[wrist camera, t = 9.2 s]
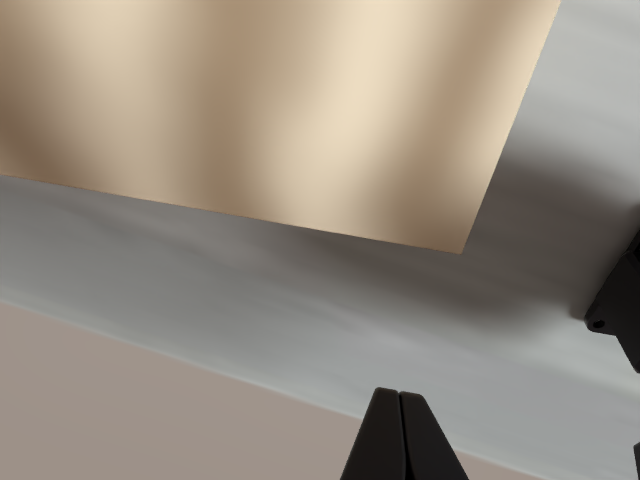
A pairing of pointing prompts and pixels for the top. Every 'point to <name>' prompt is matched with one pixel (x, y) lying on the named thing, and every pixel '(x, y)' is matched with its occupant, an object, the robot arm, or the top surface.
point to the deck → (273, 105)
